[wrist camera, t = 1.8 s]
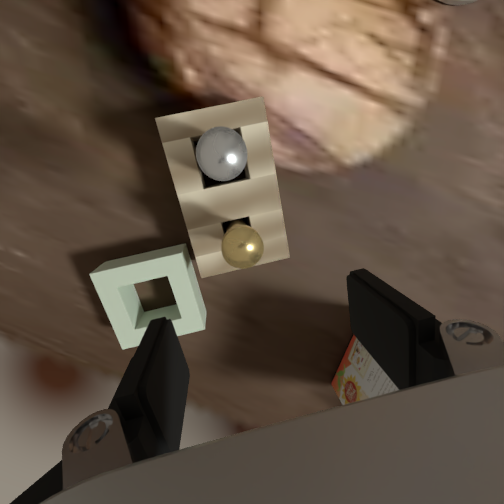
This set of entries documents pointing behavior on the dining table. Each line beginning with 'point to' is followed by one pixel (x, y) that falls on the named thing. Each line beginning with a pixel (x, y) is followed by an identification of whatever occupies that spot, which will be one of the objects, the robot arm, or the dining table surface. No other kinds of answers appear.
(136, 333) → the block
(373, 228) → the dining table surface
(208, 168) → the steel rod
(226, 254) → the brass knobbed peg
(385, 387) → the cracker box
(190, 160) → the socket block
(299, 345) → the dining table surface
